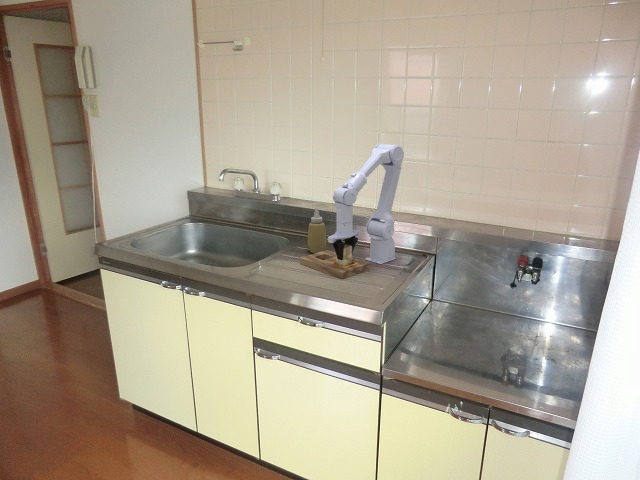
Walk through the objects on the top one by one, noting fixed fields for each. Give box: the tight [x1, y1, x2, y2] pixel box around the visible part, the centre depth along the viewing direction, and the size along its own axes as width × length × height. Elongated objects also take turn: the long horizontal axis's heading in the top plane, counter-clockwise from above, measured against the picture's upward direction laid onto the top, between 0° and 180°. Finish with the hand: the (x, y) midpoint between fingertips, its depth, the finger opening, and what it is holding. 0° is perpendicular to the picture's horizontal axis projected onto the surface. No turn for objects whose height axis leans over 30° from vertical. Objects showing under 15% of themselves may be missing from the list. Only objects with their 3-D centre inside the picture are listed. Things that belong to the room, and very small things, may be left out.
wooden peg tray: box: [299, 249, 371, 280], centre depth 176 cm, size 14×23×3 cm, turn 42°
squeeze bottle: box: [306, 208, 328, 254], centre depth 192 cm, size 8×8×18 cm
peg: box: [336, 244, 353, 267], centre depth 171 cm, size 4×4×8 cm
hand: (344, 258), depth 171 cm, fingers closed on peg, 4 cm apart
